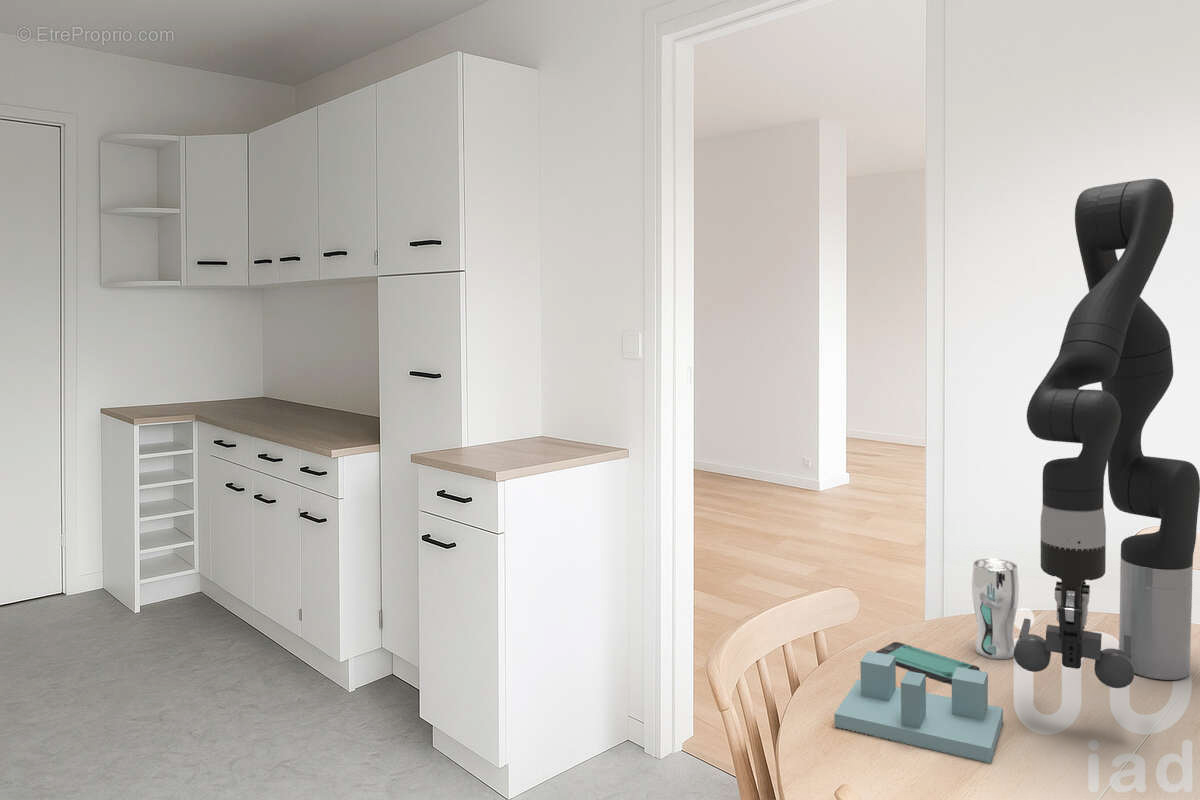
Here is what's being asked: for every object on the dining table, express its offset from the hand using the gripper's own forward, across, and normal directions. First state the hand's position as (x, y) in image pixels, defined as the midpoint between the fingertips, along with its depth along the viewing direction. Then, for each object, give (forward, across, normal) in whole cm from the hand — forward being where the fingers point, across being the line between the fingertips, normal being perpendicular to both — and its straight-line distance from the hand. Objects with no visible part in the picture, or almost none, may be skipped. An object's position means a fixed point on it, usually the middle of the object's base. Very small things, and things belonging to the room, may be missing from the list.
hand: (1072, 661), depth 111 cm
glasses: (+2, +4, 0) cm, 4 cm away
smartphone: (+10, +12, +21) cm, 26 cm away
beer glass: (+10, +22, +12) cm, 27 cm away
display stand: (+9, -8, +18) cm, 22 cm away
